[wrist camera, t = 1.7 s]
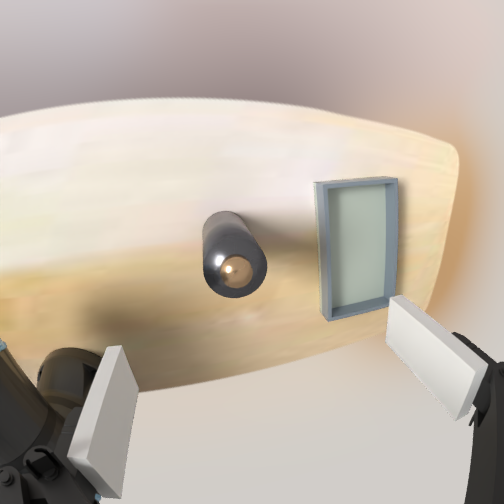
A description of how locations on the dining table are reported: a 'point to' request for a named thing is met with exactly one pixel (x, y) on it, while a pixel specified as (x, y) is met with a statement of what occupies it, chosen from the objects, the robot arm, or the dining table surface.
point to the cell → (231, 256)
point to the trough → (356, 244)
